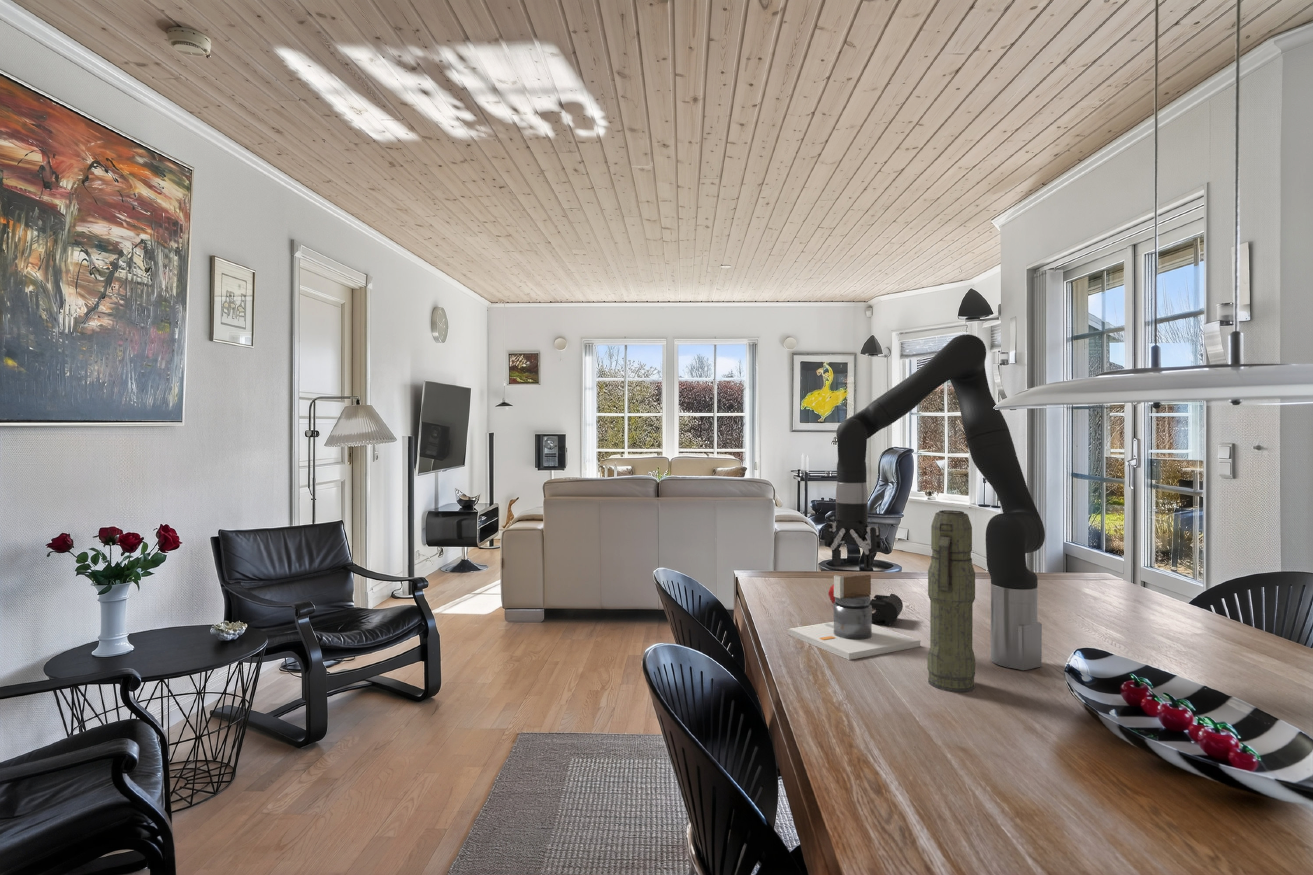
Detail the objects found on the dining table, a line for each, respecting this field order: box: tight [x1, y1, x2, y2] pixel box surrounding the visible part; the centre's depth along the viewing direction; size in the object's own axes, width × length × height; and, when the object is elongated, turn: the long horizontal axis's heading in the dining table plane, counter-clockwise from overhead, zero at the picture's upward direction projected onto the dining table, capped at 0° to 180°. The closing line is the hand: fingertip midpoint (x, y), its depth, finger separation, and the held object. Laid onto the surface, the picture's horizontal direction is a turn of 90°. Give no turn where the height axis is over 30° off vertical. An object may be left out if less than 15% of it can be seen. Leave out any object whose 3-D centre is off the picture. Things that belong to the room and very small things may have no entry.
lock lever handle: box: [833, 572, 872, 608], centre depth 173 cm, size 9×8×7 cm
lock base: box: [788, 603, 921, 661], centre depth 173 cm, size 22×22×9 cm
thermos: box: [926, 509, 976, 693], centre depth 143 cm, size 9×12×35 cm
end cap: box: [871, 593, 904, 627], centre depth 190 cm, size 10×7×7 cm
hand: (852, 567), depth 173 cm, fingers open, 8 cm apart
